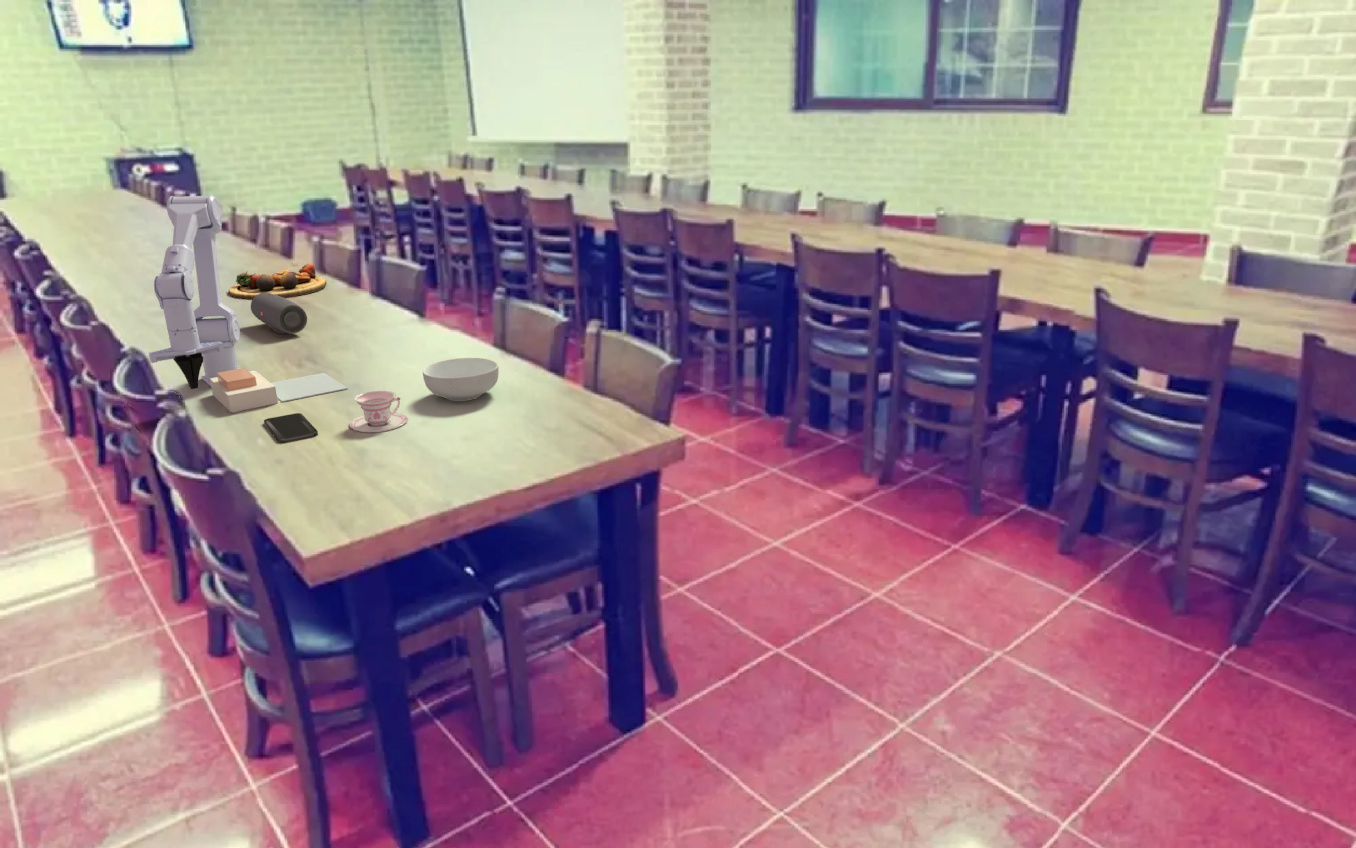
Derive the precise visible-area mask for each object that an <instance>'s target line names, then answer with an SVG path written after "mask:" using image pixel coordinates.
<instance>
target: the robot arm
mask: <svg viewBox="0 0 1356 848" xmlns="http://www.w3.org/2000/svg"><path fill="white" fill-rule="evenodd" d="M166 210H167V214H168V217H169V220H170V221H171V223H172V226H173V237H172V245H170V246H168V247H167V248H166V250H165V253H164V256H163V257H164V258H163V262H162V263H163V264H162V268H161V272H160V273H159V274H158V275H157V276H155V277H154V279H153V287H154V293H155V296H156V298H157V301H158V302H159V307H160V309H162V310H163V314H164V319H165V320H164V321H165V323H166V324H165V325H166V329H167V335H168V339H169V344H170V347H168V348H164V349H159V350H155V351H151V352H149V351H148V358H149V362H151V364H153V363H154V364H155V363H158V362H162V361H167V360H173V361H174V362H175V363H176V365H177V366H178V367H179V369H180V370H181V372H182V374H183V375H184V377H185V379H186V381H187V384H188V387H189V388H190V390H195V389H199V376H200V371H201V368H202V366H203V369H204V375H201V377H200V378H201V380H203V381H204V382H205V383H206V384H207V385H208V386H210V388H211V383H210V378H215V377H217V373H219V372H224V371H230V370H236V369H240V368H239V363H238V357H237V352H236V347H235V344H237V343H238V341H239V340H240V336H241V329H240V325H239V321H238V317H237V316H238V315H237V313H236V312H235V311H234V310H233V309H231V308H230V307H228V306H227V305H226V304H224V303H223V300H222V297H223V295H222V290H221V280H220V272H219V263H218V254H217V253H218V252H217V243H216V241H217V240H216V239H217V237H216V234H218V233H220V232H221V231H222V230H223V229H222V224H223V223H222V214H221V206H220V204H219V201H218V199H217V198H216V196H215V195H213V194H210V195H194V196H193V195H192V196H191V195H189V196H185V195H184V196H174V195H171V196H169V198H168V199H167V202H166ZM192 247H193V250H192ZM194 265H195V272H196V279H197V290H198V298H199V306H198V307H197V308H196V309H194V304H193V300H192V299H193V297H194V294H195V285H194V281H195V280H194V279H195V278H194V276H193V269H194ZM206 317H207V318H206ZM208 317H215V318H208ZM218 317H219V318H218Z"/></svg>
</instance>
